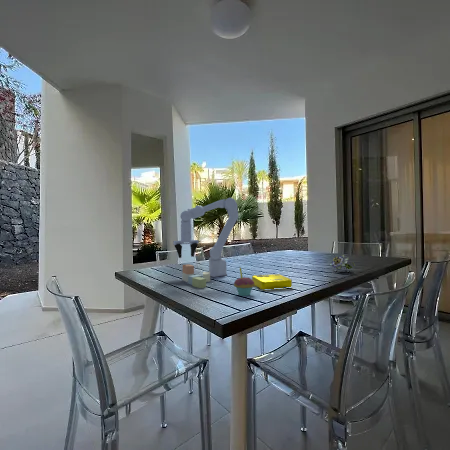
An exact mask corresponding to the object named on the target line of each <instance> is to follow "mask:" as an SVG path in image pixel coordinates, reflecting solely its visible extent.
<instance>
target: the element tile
mask: <svg viewBox="0 0 450 450" xmlns="http://www.w3.org/2000/svg"><path fill="white" fill-rule="evenodd" d="M251 279H252V280H253V281H254V284H255V286H254V287H256V286H257V287H259V288H260V289H259V288H258V289H259V290H261V289H274V288H283V287H291V286H292V287H293V280H292V279H291V278H290V277H287V276H284V275H281V274H280V273H276V274H275V273H274V274H272V273H271V274H257V275H252V277H251ZM257 287H256V288H257Z"/></svg>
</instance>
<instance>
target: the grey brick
mask: <svg viewBox="0 0 450 450" xmlns="http://www.w3.org/2000/svg"><path fill="white" fill-rule="evenodd" d="M192 275H195V273H194V274H185V273H183V272H182V275H181V276H182V278H181V279H182V281H183V282H186V283H188V276H192Z"/></svg>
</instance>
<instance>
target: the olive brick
mask: <svg viewBox="0 0 450 450" xmlns="http://www.w3.org/2000/svg"><path fill="white" fill-rule="evenodd" d="M191 287H194V288H196V289H203V288H206V287H207V282H206V279H205V278H203V277H202V278H201V277H195V278H192V285H191Z"/></svg>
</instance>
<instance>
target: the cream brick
mask: <svg viewBox="0 0 450 450" xmlns="http://www.w3.org/2000/svg"><path fill="white" fill-rule="evenodd" d="M202 278H205V279H206V283H210V282H211V276H210V272H209V271H203V272H202Z"/></svg>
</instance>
